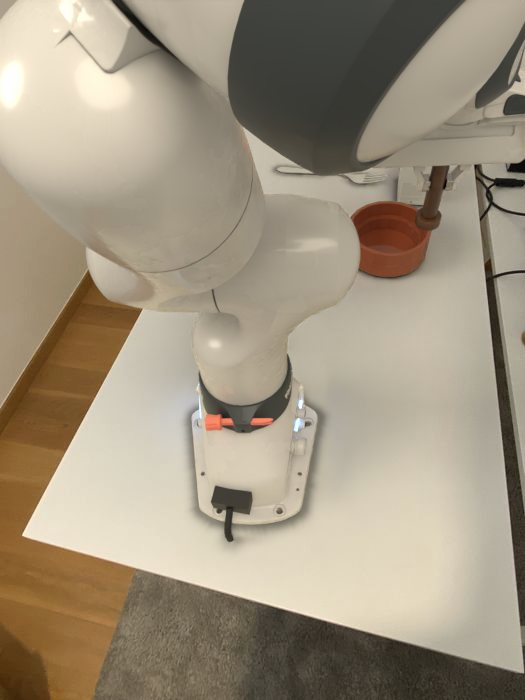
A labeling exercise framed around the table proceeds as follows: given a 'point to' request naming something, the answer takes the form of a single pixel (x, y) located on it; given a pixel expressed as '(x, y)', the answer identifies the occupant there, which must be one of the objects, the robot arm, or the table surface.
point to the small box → (410, 186)
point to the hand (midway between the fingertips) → (435, 188)
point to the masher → (432, 200)
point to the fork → (354, 177)
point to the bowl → (390, 238)
